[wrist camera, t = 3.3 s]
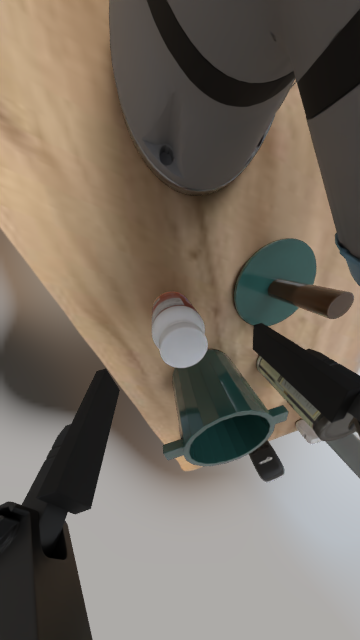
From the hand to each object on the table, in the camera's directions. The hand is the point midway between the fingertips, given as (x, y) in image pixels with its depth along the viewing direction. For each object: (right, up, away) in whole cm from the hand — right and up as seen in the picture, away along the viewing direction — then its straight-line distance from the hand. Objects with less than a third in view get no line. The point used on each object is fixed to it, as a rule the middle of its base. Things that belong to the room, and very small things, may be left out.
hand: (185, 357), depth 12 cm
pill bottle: (-2, +5, +11) cm, 12 cm away
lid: (+16, +9, +12) cm, 21 cm away
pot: (+5, -9, +19) cm, 21 cm away
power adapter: (+46, -32, +38) cm, 68 cm away
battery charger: (+21, -32, +33) cm, 51 cm away
